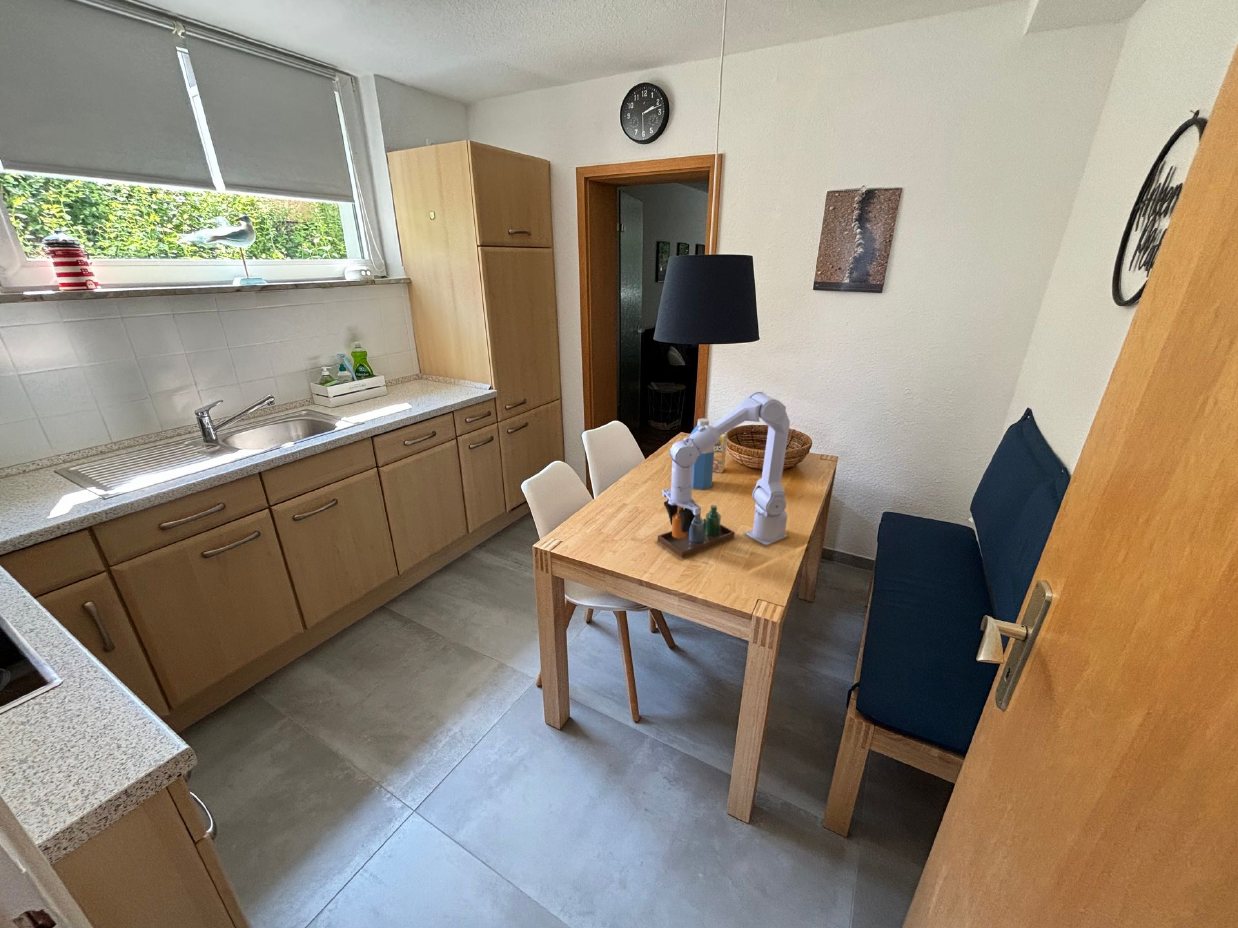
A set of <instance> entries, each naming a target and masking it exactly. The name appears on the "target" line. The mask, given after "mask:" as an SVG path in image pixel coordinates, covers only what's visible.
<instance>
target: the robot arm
mask: <svg viewBox="0 0 1238 928" xmlns="http://www.w3.org/2000/svg"><path fill="white" fill-rule="evenodd" d="M786 410H787V406H785V404H784V403H783V402H781V401H780V400H779V399H776V398H774V397H772V396H770V395H767V394H766V393H764V392H762V391H755V392H752V393H751V394H750V395H749V396H747V397H745V398H743V399H742V400H741V402H740V403H739V405H737V406H736V407H735V408H733V409H732V410H731V411H729V412H728V413H727V414H725V415H724V416H722V418H720V419H718V420H717V422H715V423H714V424H712V425H710V424H709V425H705V426H704V427H702V426H700V427H699V428H698V431H696V432H695V433H693V434H692V435H690V434H689V436H686V437H684V438H683V439H682V440H677V441H675V442H674V443H673V444H672V446H671V447H670V449H669V450H668V453H669V456H670V457H671V459H672V461H671V462H672V463H671V479H670V480H671V483H670V484H671V485H670V489H669V488H666V489H662V490H661V491H662V492H661V495H662V498H667V500H666V501H664V502H663V506H664V507H665V509H666V511H667V514H668V519H669V522H670V526H672V516H673V515H674V514H675V513H676V512H677V507H678V506H681V507H684V509H683V510H680V511H679V515H680V518H681V528H682V532H683V533H684V532H687V531H689V529H690V526H691V523H692V521H693V519H694V517H695V516H696V515H698V514H702V507H701V506H700V505H699V504H698V503H697V502H696V501H695V500H694V498H693V497H692V494H693V493H692V492H693V488H692V476H693V464H694V463H695V462H696V460H697V457H698V456H700V454H702V453H703V452H705V451H706V450H708V449H709V448H710V447H712V446H713V445H715V444H716V443H718V440H719V437H720V436H721V435H722V434H724V433H727V432H729V431H731V430H732V429H734V428H736V427H737V426H739V425H741V424H742V423H744V422H756V423H760V421H763V423H765V425H767V427H768V429H767V436H766V443H765V450H764V457H763V465H762V473H761V478H759V479H758V480H756V485H755V487H754V489H753V491H752V494H751V496H752V500H753V501H754V502H755V505H754V514H753V515H754V517H753V524H752V525H753V526H752V530H751V531H747V532H746V533H745V534H746V535H747V536H748V537H751V538H752V539H753V540H756V541H757V542H759V543H761V544H763V545H764V546H767V545H771V544H772V543H775V542H777V541H779V540H781V539H784V538H787V537H788V534H786V528H787V520H788V514H787V512H786V508H787V500H786V491H785V488H784V486H783V484H782V478H783V473H784V465H785V460H786V459H785V458H786V451H787V446H788V445H787V444H788V439H789V433H790V432H789V431H790V424H791V421H790V419H789V415H788V414H787V411H786Z"/></svg>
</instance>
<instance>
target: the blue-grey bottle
mask: <svg viewBox="0 0 1238 928" xmlns="http://www.w3.org/2000/svg"><path fill="white" fill-rule="evenodd" d="M701 514H702V513H701ZM701 514H698V515H696V516H695V517H694V519H693V521H692V523H691V526H690V529H689V540H690V541H691V542H694V543H700V542H702V541H703V540H704V524H705V522H704V520H703V518H702V517H701Z"/></svg>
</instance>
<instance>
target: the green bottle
mask: <svg viewBox="0 0 1238 928" xmlns="http://www.w3.org/2000/svg"><path fill="white" fill-rule="evenodd" d="M721 518H722V515H721V514H720V513H719V511H718V506H717V505H715V504H712V505H710V510H709V511H708V512H707V513H706V514H705V519H706V522H705V534H706V535H708V536H712V537H715V536H718V535H719V534H720V524H721V520H722V519H721Z"/></svg>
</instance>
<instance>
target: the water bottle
mask: <svg viewBox="0 0 1238 928" xmlns="http://www.w3.org/2000/svg"><path fill="white" fill-rule="evenodd" d="M705 425H709V426H710V419H709V418H703V417H702V418H698V419H697V425H696V426H695V427H694V428H693V430H692V431H691V432H690V434H689V436H690V435H692V434H693V433H695V432H696V431H698V428H699V427H700V426H702V427H704V426H705ZM714 447H715V445H713V446H712V447H710V448H709V449H708V450H706V451H705V452H703V453H702V454H700V456H698V457H697V460H696V462H695V463H694V464H693V476H692V489H694V490H695V489H696V490H707V489H710V488H712V485H713V475H714V474H713V473H714V471H713V462H714Z"/></svg>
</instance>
